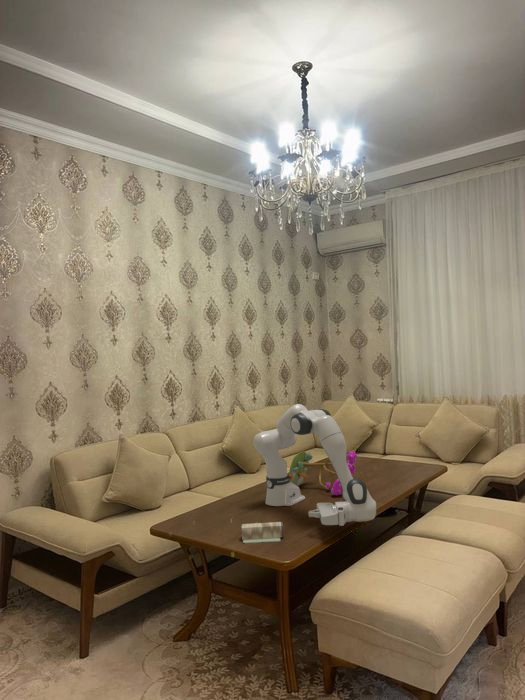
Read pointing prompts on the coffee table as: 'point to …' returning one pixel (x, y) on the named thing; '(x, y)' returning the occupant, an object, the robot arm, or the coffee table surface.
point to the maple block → (262, 530)
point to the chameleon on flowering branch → (302, 464)
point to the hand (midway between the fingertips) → (308, 514)
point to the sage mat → (261, 540)
